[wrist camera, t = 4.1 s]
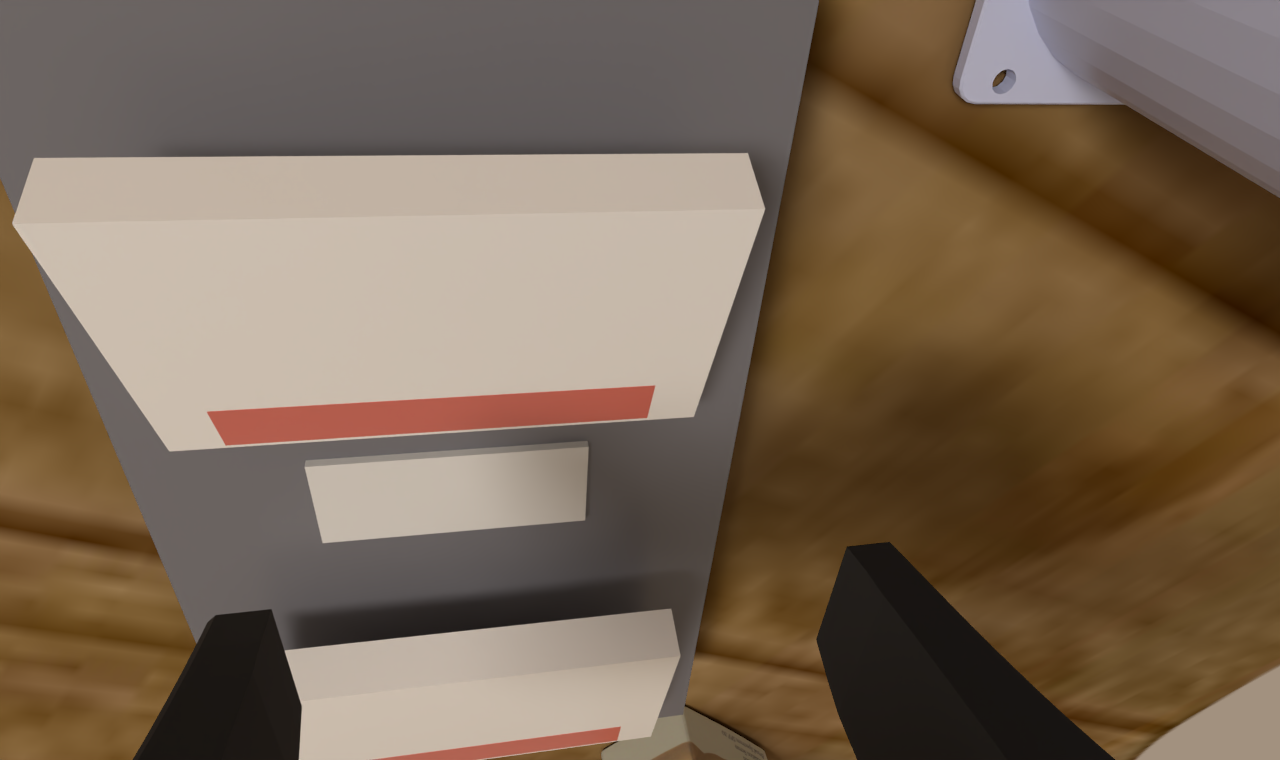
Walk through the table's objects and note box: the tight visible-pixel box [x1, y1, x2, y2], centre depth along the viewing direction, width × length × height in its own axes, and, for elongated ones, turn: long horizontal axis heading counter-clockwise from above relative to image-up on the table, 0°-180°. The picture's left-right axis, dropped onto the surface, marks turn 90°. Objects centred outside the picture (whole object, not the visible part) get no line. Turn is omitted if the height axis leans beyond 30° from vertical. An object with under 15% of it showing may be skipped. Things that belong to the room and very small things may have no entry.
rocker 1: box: [12, 153, 765, 452], centre depth 15 cm, size 10×6×1 cm, turn 86°
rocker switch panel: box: [0, 0, 819, 718], centre depth 20 cm, size 13×22×3 cm, turn 176°
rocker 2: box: [284, 609, 681, 760], centre depth 22 cm, size 10×6×1 cm, turn 86°
